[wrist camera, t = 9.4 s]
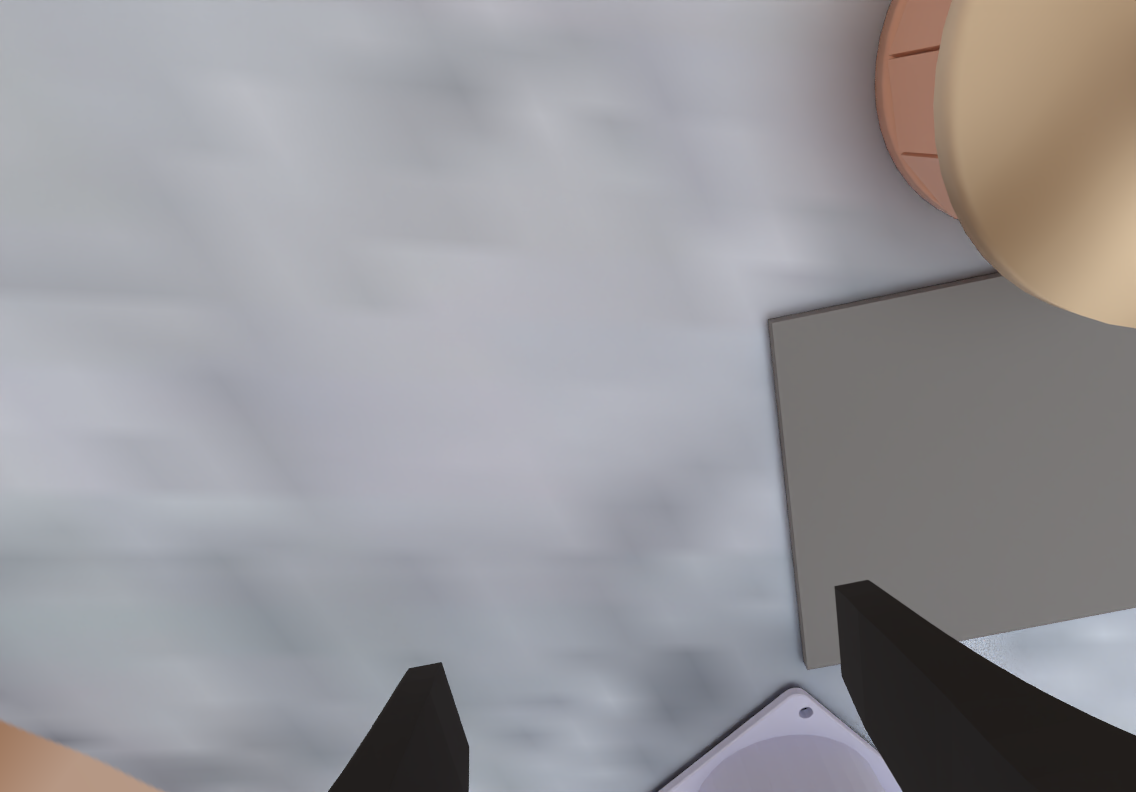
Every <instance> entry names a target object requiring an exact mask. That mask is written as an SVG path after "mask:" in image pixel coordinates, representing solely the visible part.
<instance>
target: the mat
mask: <svg viewBox="0 0 1136 792" xmlns="http://www.w3.org/2000/svg"><path fill="white" fill-rule="evenodd" d="M768 325H769V334H770V344H771V353H772V363H773V373H774V382H775V392H776V401H777V411H778V420H779V430H780V440H781V449H782V459H783V468H784V478H785V487H786V497H787V506H788V516H789V526H790V535H791V545H792V554H793V564H794V573H795V583H796V593H797V602H798V612H799V621H800V631H801V640H802V650H803V659H804V664H805V666H806V668H807V670H810V669H816V668H821V667H826V666H831V665H837V664H841V660H840V648H839V636H838V624H837V612H836V600H835V587H834V586H838V585H843V584H848V583H853V582H858V581H864V580H870V581H871V582H873V583H874V584H875V585H877V586H878V587H880V588H881V589H883V590H884V591H886V592H887V593H888V594H890V595H891V596H893V597H894V598H896V599H897V600H898V601H900V602H901V603H903V604H904V605H905V606H907V607H908V608H910V609H911V610H913V611H914V612H915V613H917V614H918V615H920V616H921V617H923V618H924V619H926V620H927V621H928V622H930V623H931V624H933V625H934V626H936V627H937V628H939V629H940V630H942V631H943V632H945V633H946V634H948V635H949V636H951V637H952V638H954V639H955V640H957V641H963V640H968V639H973V638H978V637H984V636H989V635H994V634H999V633H1005V632H1010V631H1015V630H1020V629H1026V628H1031V627H1036V626H1041V625H1047V624H1052V623H1057V622H1062V621H1068V620H1073V619H1078V618H1083V617H1089V616H1094V615H1099V614H1104V613H1110V612H1115V611H1120V610H1125V609H1131V608H1136V328H1130V327H1124V326H1117V325H1111V324H1107V323H1104V322H1100V321H1097V320H1094V319H1091V318H1088V317H1085V316H1081V315H1078V314H1076V313H1073V312H1070V311H1067V310H1064V309H1061V308H1058V307H1056V306H1053V305H1050V304H1048V303H1046V302H1044V301H1042V300H1040V299H1038V298H1036V297H1034V296H1032V295H1030V294H1028V293H1026V292H1024V291H1023V290H1021V289H1020V288H1019V287H1017V286H1016V285H1014V284H1013V283H1012V282H1010V281H1009V280H1007V279H1006V278H1005V277H1003V276H1002V275H1001V274H1000V273H994V274H989V275H985V276H980V277H975V278H970V279H965V280H960V281H955V282H950V283H945V284H941V285H936V286H931V287H926V288H921V289H916V290H911V291H906V292H901V293H897V294H892V295H887V296H882V297H877V298H872V299H867V300H862V301H857V302H853V303H848V304H843V305H838V306H833V307H828V308H823V309H818V310H813V311H808V312H804V313H799V314H794V315H789V316H784V317H779V318H774V319H769V320H768Z"/></svg>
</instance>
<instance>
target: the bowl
mask: <svg viewBox="0 0 1136 792" xmlns="http://www.w3.org/2000/svg"><path fill="white" fill-rule="evenodd" d="M951 2H952V0H892V1H891V4H890V6H889V9H888V11H887V14H886V18H885V21H884V25H883V28H882V32H881V35H880V40H879V46H878V52H877V58H876V69H875V98H876V109H877V114H878V120H879V125H880V130H881V132H882V135H883V138H884V141H885V144H886V147H887V150H888V152H889V154H890V156H891V158H892V160H893V162H894V164H895V166H896V168H897V169H898V170H899V172H900V173H901V175H902V176H903V177H904V179H905V180H906V182H907V183H908V184H909V185H910V186H911V187H912V188H913V189H914V190H915V191H916V192H917V193H918V194H919V195H920V196H921V197H922V198H923V199H924V200H926V201H927V202H928V203H930V204H931V205H932V206H934V207H935V208H936V209H938V210H940V211H942V212H944V213H946V214H948V215H950V216H951V217H954V218H955V219H958V217H957V215H956V213H955V211H954V209H953V207H952V205H951V202H950V199H949V196H948V193H947V190H946V187H945V184H944V181H943V178H942V175H941V171H940V165H939V160H938V154H937V149H936V143H935V130H934V110H933V102H934V88H935V74H936V65H937V60H938V54H939V49H940V44H941V38H942V33H943V28H944V25H945V21H946V18H947V15H948V12H949V8H950V5H951ZM958 220H959V219H958Z"/></svg>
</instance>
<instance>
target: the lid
mask: <svg viewBox="0 0 1136 792" xmlns="http://www.w3.org/2000/svg"><path fill="white" fill-rule="evenodd" d="M933 110H934V130H935V143H936V149H937V154H938V160H939V165H940V171H941V175H942V178H943V181H944V184H945V187H946V190H947V193H948V196H949V199H950V202H951V205H952V207H953V209H954V211H955V213H956V215H957V217H958V219H959V221H960V223H961V225H962V227H963V229H964V231H965V233H966V234H967V235H968V237H969V238H970V240H971V241H972V242H973V244H974V245H975V247H976V248H977V249H978V251H979V252H980V253H981V255H982V256H983V257H984V258H985V259H986V260H987V261H988V262H989V263H990V264H991V265H992V266H993V267H994V268H995V269H996V270H997V271H998V272H999V273H1000V274H1001V275H1002V276H1003V277H1005V278H1006V279H1007V280H1009V281H1010V282H1012V283H1013V284H1014V285H1016V286H1017V287H1019V288H1020V289H1021V290H1023V291H1024V292H1026V293H1028V294H1030V295H1032V296H1034V297H1036V298H1038V299H1040V300H1042V301H1044V302H1046V303H1048V304H1050V305H1053V306H1056V307H1058V308H1061V309H1064V310H1067V311H1070V312H1073V313H1076V314H1078V315H1081V316H1085V317H1088V318H1091V319H1094V320H1097V321H1100V322H1104V323H1107V324H1111V325H1117V326H1124V327H1130V328H1136V0H952V2H951V5H950V8H949V12H948V15H947V18H946V21H945V25H944V28H943V33H942V38H941V44H940V49H939V54H938V60H937V65H936V74H935V88H934V102H933Z"/></svg>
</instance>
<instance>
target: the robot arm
mask: <svg viewBox="0 0 1136 792" xmlns="http://www.w3.org/2000/svg"><path fill="white" fill-rule="evenodd" d="M834 587H835V600H836V612H837V624H838V636H839V648H840V660H841V673H842V678H843V680H844V682H845V685H846V687H847V689H848V691H849V694H850V696H851V698H852V701H853V703H854V705H855V707H856V709H857V712H858V714H859V716H860V718H861V720H862V722H863V725H864V727H865V729H866V731H867V733H868V734H869V736H870V738H871V739H872V741H873V743H874V745H875V746H876V748H877V750H878V751H879V752H878V751H877V750H876V749H875V748H873V747H872V746H871V745H870V744H869V743H867V742H866V741H865V740H864V739H863V738H861V737H860V736H859V735H858V734H857V733H855V732H854V731H853V730H852V729H850V728H849V727H848V726H847V725H846V724H844V723H843V722H842V721H841V720H840V719H838V718H837V717H836V716H835V715H834V714H832V713H831V712H830V711H829V710H828V709H826V708H825V707H824V706H823V705H822V704H820V703H819V702H818V701H817V700H816V699H814V698H813V697H812V696H811V695H810V694H808V693H807V692H806V691H805V690H803V689H801V688H791V689H788V690H786V691H785V692H784V693H782V694H781V695H780V696H779V697H777V698H776V699H775V700H773V701H772V702H771V703H770V704H768V705H767V706H766V707H765V708H763V709H762V710H761V711H760V712H758V713H757V714H756V715H754V716H753V717H752V718H751V719H749V720H748V721H747V722H746V723H744V724H743V725H742V726H741V727H739V728H738V729H737V730H735V731H734V732H733V733H732V734H730V735H729V736H728V737H727V738H725V739H724V740H723V741H722V742H720V743H719V744H718V745H716V746H715V747H714V748H713V749H711V750H710V751H709V752H708V753H706V754H705V755H704V756H703V757H701V758H700V759H699V760H697V761H696V762H695V763H694V764H692V765H691V766H690V767H689V768H687V769H686V770H685V771H683V772H682V773H681V774H680V775H678V776H677V777H676V778H675V779H673V780H672V781H671V782H670V783H668V784H667V785H666V786H664V787H663V788H662V789H661V790H659V791H658V792H1136V735H1133V734H1131V733H1129V732H1126V731H1124V730H1121V729H1119V728H1117V727H1115V726H1113V725H1110V724H1108V723H1106V722H1104V721H1102V720H1099V719H1097V718H1095V717H1093V716H1091V715H1089V714H1087V713H1085V712H1083V711H1081V710H1079V709H1077V708H1075V707H1073V706H1071V705H1069V704H1067V703H1065V702H1063V701H1061V700H1059V699H1057V698H1055V697H1053V696H1051V695H1049V694H1047V693H1045V692H1043V691H1041V690H1039V689H1038V688H1036V687H1034V686H1032V685H1030V684H1028V683H1026V682H1025V681H1023V680H1021V679H1020V678H1018V677H1016V676H1014V675H1013V674H1011V673H1009V672H1007V671H1006V670H1004V669H1002V668H1001V667H999V666H997V665H995V664H994V663H992V662H990V661H989V660H987V659H985V658H984V657H982V656H980V655H979V654H977V653H976V652H974V651H972V650H971V649H969V648H968V647H966V646H965V645H963V644H962V643H960V642H959V641H957V640H955V639H954V638H952V637H951V636H949V635H948V634H946V633H945V632H943V631H942V630H940V629H939V628H937V627H936V626H934V625H933V624H931V623H930V622H928V621H927V620H926V619H924V618H923V617H921V616H920V615H918V614H917V613H915V612H914V611H913V610H911V609H910V608H908V607H907V606H905V605H904V604H903V603H901V602H900V601H898V600H897V599H896V598H894V597H893V596H891V595H890V594H888V593H887V592H886V591H884V590H883V589H881V588H880V587H878V586H877V585H875V584H874V583H873V582H871V581H870V580H864V581H858V582H853V583H848V584H843V585H838V586H834ZM804 707H808V708H807V709H805V710H801V709H802V708H804ZM468 791H469V745H468V742H467V739H466V736H465V733H464V730H463V727H462V724H461V721H460V717H459V714H458V711H457V708H456V705H455V702H454V699H453V696H452V693H451V690H450V687H449V684H448V681H447V678H446V675H445V671H444V668H443V665H442V662H440V663H435V664H430V665H424V666H419V667H414V668H409V669H408V671H407V672H406V673H405V675H404V676H403V678H402V680H401V681H400V683H399V684H398V686H397V687H396V689H395V691H394V692H393V694H392V696H391V697H390V699H389V700H388V702H387V704H386V705H385V707H384V708H383V710H382V712H381V713H380V715H379V716H378V718H377V720H376V721H375V723H374V724H373V726H372V728H371V729H370V731H369V732H368V734H367V735H366V737H365V738H364V740H363V741H362V743H361V744H360V746H359V747H358V749H357V751H356V752H355V754H354V755H353V757H352V758H351V760H350V761H349V763H348V764H347V766H346V767H345V769H344V770H343V771H342V773H341V774H340V776H339V777H338V779H337V780H336V781H335V783H334V784H333V785H332V787H331V788H330V790H329V791H328V792H468Z"/></svg>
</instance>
